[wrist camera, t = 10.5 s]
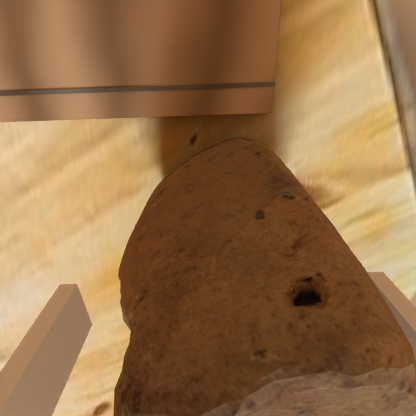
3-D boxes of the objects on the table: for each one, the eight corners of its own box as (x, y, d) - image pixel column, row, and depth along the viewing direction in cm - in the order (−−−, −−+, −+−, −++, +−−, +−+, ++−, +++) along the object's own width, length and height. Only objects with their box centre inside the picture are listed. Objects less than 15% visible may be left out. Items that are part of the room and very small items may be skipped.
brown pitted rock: (259, 123, 22) (484, 339, 4) (282, 195, 25) (461, 491, 7) (149, 169, 24) (-26, 450, 6) (183, 231, 27) (135, 530, 9)
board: (-15, 119, 22) (-36, 123, 20) (-82, -38, 17) (-118, -52, 15) (266, 109, 21) (272, 113, 19) (278, -54, 16) (287, -70, 15)
